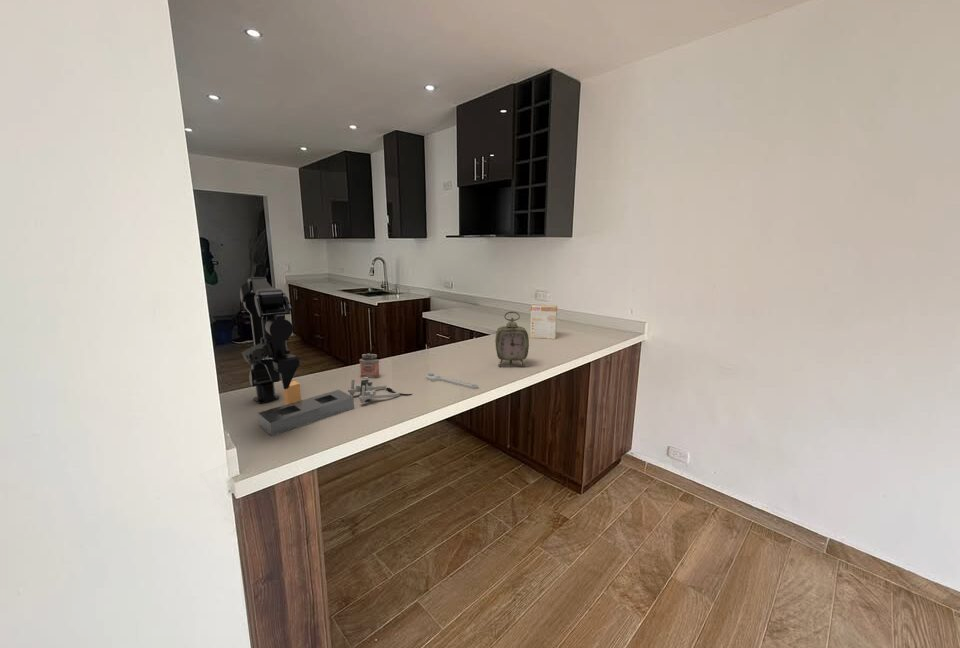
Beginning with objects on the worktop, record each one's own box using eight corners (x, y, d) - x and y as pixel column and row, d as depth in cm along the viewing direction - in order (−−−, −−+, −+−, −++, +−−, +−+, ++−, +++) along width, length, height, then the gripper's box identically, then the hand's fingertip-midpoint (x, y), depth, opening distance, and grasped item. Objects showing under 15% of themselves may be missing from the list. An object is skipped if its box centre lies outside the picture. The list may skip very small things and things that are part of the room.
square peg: (284, 406, 131) (282, 383, 129) (296, 402, 134) (294, 380, 132) (289, 409, 128) (287, 386, 127) (301, 405, 131) (299, 383, 129)
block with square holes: (259, 425, 117) (257, 412, 116) (339, 400, 136) (338, 389, 135) (271, 435, 110) (270, 422, 109) (354, 408, 129) (353, 397, 128)
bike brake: (360, 406, 129) (412, 400, 142) (362, 387, 128) (414, 382, 141) (345, 395, 139) (395, 390, 152) (347, 377, 138) (397, 374, 151)
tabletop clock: (495, 368, 172) (496, 313, 167) (494, 362, 181) (495, 309, 176) (528, 368, 172) (529, 313, 167) (525, 362, 181) (526, 309, 176)
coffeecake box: (556, 336, 232) (557, 304, 229) (555, 339, 226) (556, 306, 222) (531, 335, 237) (532, 303, 233) (529, 337, 230) (530, 305, 226)
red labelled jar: (359, 378, 159) (357, 354, 157) (362, 375, 162) (361, 352, 160) (377, 378, 158) (376, 355, 156) (380, 376, 161) (379, 353, 159)
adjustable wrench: (479, 389, 148) (479, 384, 148) (469, 394, 143) (469, 389, 143) (433, 375, 163) (433, 371, 163) (422, 379, 158) (421, 375, 158)
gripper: (232, 333, 111) (239, 384, 114) (255, 344, 99) (261, 401, 102) (273, 327, 119) (278, 375, 122) (299, 336, 107) (304, 389, 110)
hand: (279, 384), depth 114 cm, fingers open, 9 cm apart
